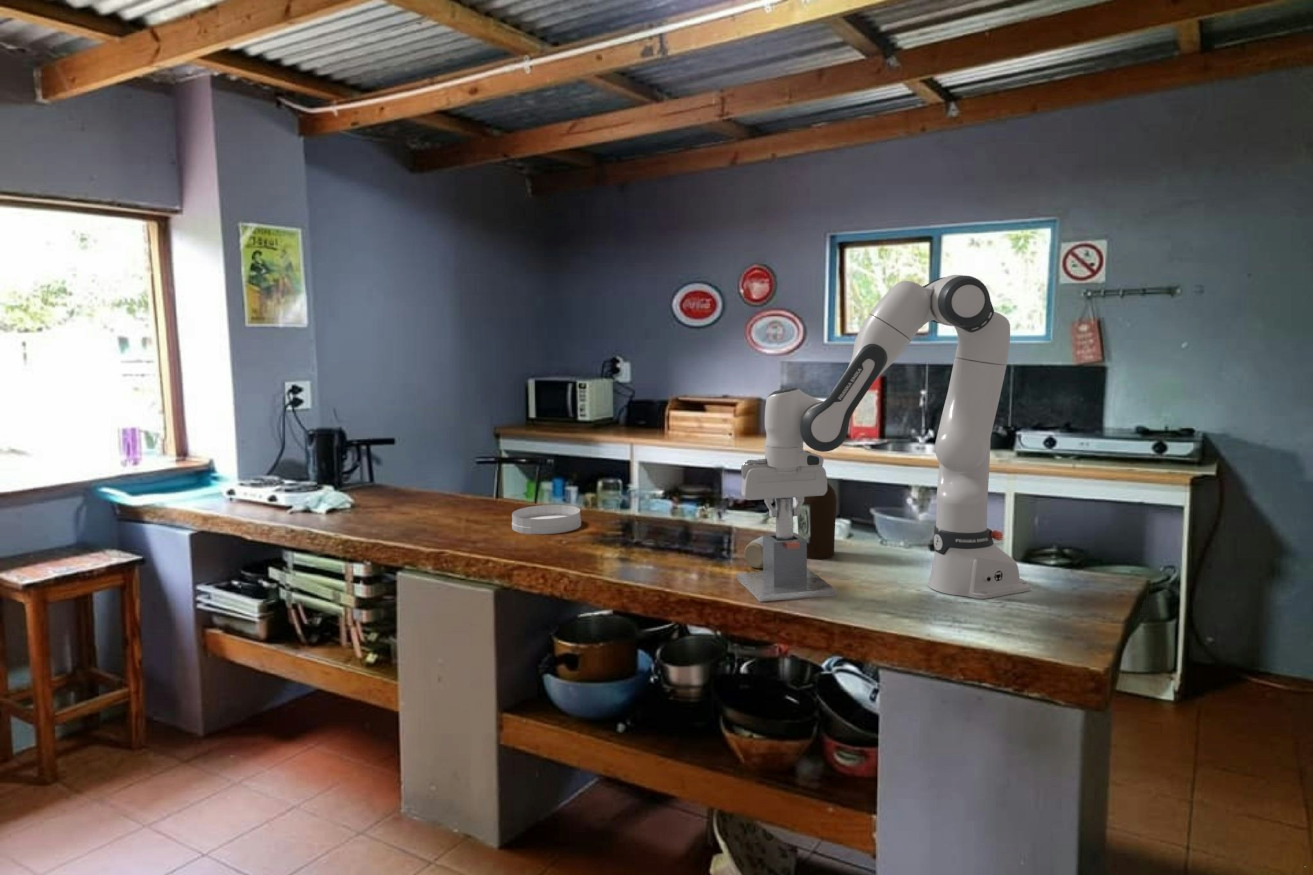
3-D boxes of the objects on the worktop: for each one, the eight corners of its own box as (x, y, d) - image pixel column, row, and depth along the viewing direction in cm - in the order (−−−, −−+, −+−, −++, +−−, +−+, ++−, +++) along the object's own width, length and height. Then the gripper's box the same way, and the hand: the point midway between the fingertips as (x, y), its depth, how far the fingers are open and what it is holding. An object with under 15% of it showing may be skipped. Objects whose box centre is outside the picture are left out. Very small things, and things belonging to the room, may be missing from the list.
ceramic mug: (741, 567, 213) (742, 538, 212) (759, 560, 219) (759, 531, 218) (777, 574, 206) (777, 544, 205) (793, 567, 213) (794, 538, 212)
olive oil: (824, 548, 230) (824, 459, 227) (843, 557, 220) (844, 465, 217) (789, 551, 227) (789, 462, 224) (807, 561, 217) (807, 467, 214)
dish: (504, 524, 270) (503, 509, 270) (568, 516, 280) (567, 502, 279) (523, 538, 250) (522, 522, 250) (591, 529, 260) (590, 514, 259)
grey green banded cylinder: (789, 569, 198) (789, 495, 196) (796, 574, 194) (796, 499, 191) (772, 570, 197) (772, 496, 195) (778, 575, 193) (778, 500, 191)
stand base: (806, 573, 206) (806, 526, 205) (835, 595, 189) (835, 543, 187) (737, 579, 203) (736, 531, 201) (760, 601, 185) (759, 549, 184)
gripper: (745, 462, 187) (745, 522, 189) (830, 457, 191) (830, 516, 192) (737, 458, 193) (737, 516, 195) (819, 453, 197) (819, 510, 199)
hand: (784, 516), depth 194 cm, fingers closed on grey green banded cylinder, 4 cm apart
